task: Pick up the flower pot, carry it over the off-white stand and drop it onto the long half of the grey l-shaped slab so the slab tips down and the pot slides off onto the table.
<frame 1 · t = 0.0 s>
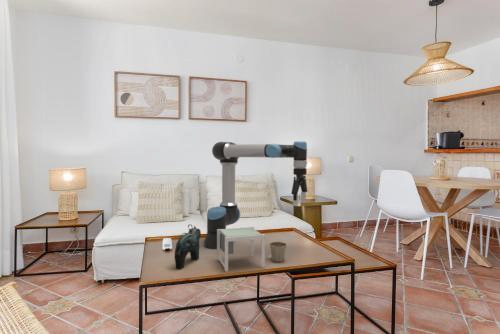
hand: (299, 204, 184), 28 cm above the table, tool pointing down, fingers open, 13 cm apart
flower pot: (277, 260, 170), on the table
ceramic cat: (188, 263, 164), on the table
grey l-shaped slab: (240, 240, 164), point 12 cm above the table, hinge at 0.0°
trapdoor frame: (240, 263, 164), on the table
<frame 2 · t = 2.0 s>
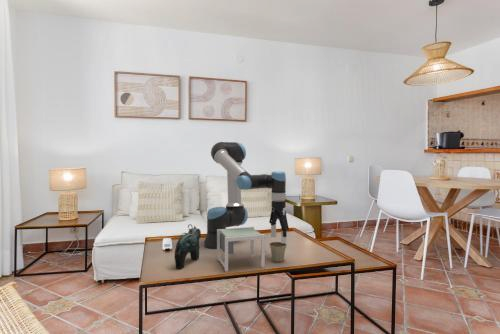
hand: (278, 239, 169), 11 cm above the table, tool pointing down, fingers open, 13 cm apart
nothing on the table moved.
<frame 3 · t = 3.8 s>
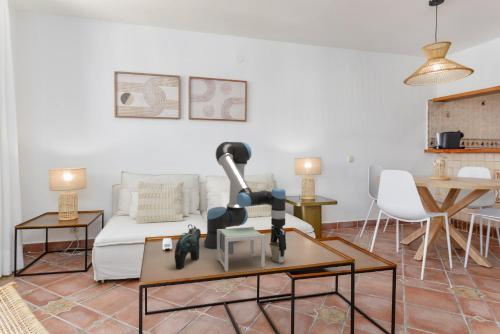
hand: (277, 259, 170), 0 cm above the table, tool pointing down, fingers closed on flower pot, 8 cm apart
flower pot: (277, 260, 170), on the table, touching gripper
everything else where it was.
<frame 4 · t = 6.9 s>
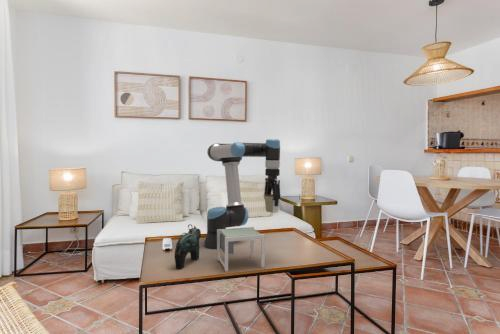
hand: (271, 210, 168), 27 cm above the table, tool pointing down, fingers closed on flower pot, 8 cm apart
flower pot: (271, 211, 168), point 26 cm above the table, touching gripper
everything else where it was.
when the fingers open (20 cm above the table, at t = 9.9 s): flower pot drops 1 cm, point 18 cm above the table.
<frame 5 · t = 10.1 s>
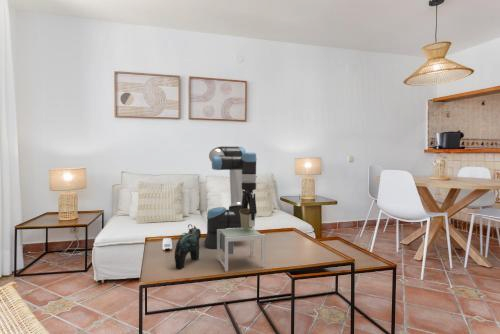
hand: (248, 224, 165), 20 cm above the table, tool pointing down, fingers open, 11 cm apart
flower pot: (246, 227, 168), point 18 cm above the table, touching gripper
everything else where it was.
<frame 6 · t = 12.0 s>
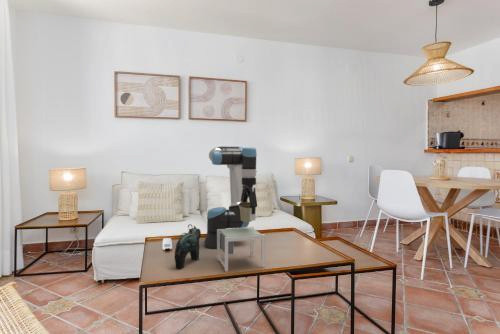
hand: (248, 217, 165), 24 cm above the table, tool pointing down, fingers open, 13 cm apart
flower pot: (246, 220, 169), point 21 cm above the table, touching gripper
everything else where it was.
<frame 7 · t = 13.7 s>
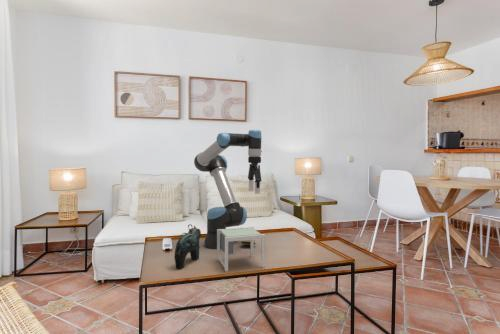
hand: (254, 192, 187), 35 cm above the table, tool pointing down, fingers open, 13 cm apart
flower pot: (249, 229, 198), point 10 cm above the table
everything else where it was.
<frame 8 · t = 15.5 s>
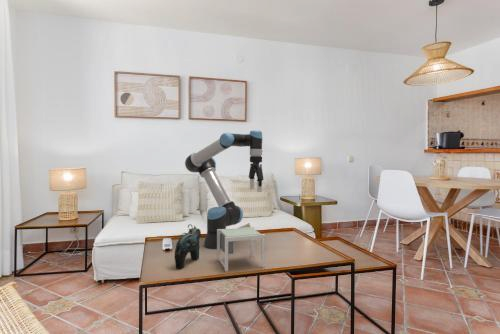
hand: (255, 190, 194), 35 cm above the table, tool pointing down, fingers open, 13 cm apart
flower pot: (237, 232, 218), point 3 cm above the table
everything else where it was.
at the end: flower pot point 3.1 cm above the table; the gripper is holding nothing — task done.
